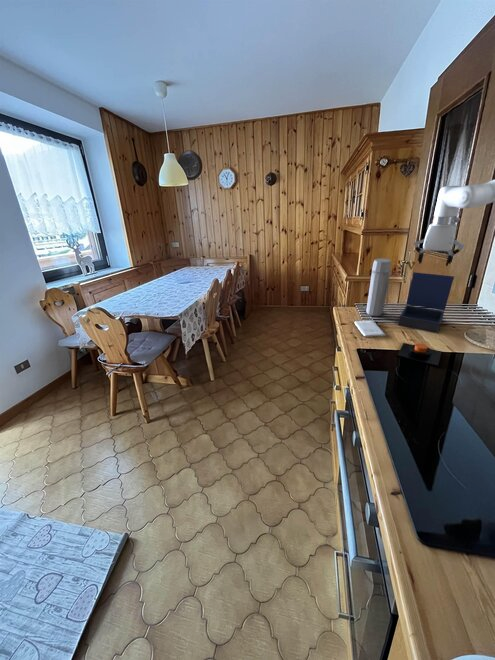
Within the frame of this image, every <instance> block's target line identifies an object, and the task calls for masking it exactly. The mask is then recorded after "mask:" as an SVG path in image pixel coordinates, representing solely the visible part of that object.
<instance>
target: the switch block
mask: <svg viewBox="0 0 495 660" xmlns="http://www.w3.org/2000/svg"><path fill="white" fill-rule="evenodd" d="M415 345H416V344H410V343H407V342H403V343H402V345H401V347H400V349H399V351H398V353H397V357H398V358H402V359H405V360H409V361H413V362H416V363H421V364H425V365H429V366H432V367H437V368H438V367H439V364H440V360H441V356H442V351H441V350H437V349H432V348H430V347H428V348H427V351H426V352H425V353H421V352H417V351H415Z"/></svg>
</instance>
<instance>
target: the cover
mask: <svg viewBox="0 0 495 660" xmlns="http://www.w3.org/2000/svg"><path fill="white" fill-rule="evenodd" d="M454 279H455V276H454V275H444V274H435V273H425V272H416V271H415V272H414V271H413V272H412V276H411V281H410V282H411V283H410V287H409V290H408V295H407V300H406V305H409V306H415V307H421V308H427V309H433V310H439V311H446V307H447V305H448V304H447V303H448V301H449V297H450V293H451V289H452V287H453V282H454Z"/></svg>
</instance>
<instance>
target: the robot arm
mask: <svg viewBox="0 0 495 660" xmlns="http://www.w3.org/2000/svg"><path fill="white" fill-rule="evenodd" d="M491 203H495V179H492V180H489V181H487V182H484V183H477V184H469V185H468V184H467V185H445V186H442V187H441V188H440V189H439V191H438V195H437V201H436V203H435V204H436V205H435V209H434V214H433V218H432V221H431V223H430V224H429V225H428V227H427V231H426V233H425V236H424V238H423V239H420V240H417V241H415V242H414V243H413V246H414V249H415V251H416V252H417V254H418V258H417V262H418V264H419V265H420V264H422V262H423V259H424V252H425V251H435V252H447V253H448V255H447V258H446V262H445V266H446V267H448V266H449V265H451V263H452V259H453V256H455V255H457V254H458V253H460V251H461V250H462V249H463V248H464V247H465V244H463V243H462V242H460V241H458V240H456V234H457V227H458V226H457V224H455V223H459V222H460V223H461V217H458V212H459V209H470V208H476V207H477V208H478V207H483V206H486V205H489V204H491ZM422 243H423V244H422ZM420 244H422V248H421V247H420V246H419V245H420ZM454 246H456V247H457V248H456V249H455V250H453V247H454Z"/></svg>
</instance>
